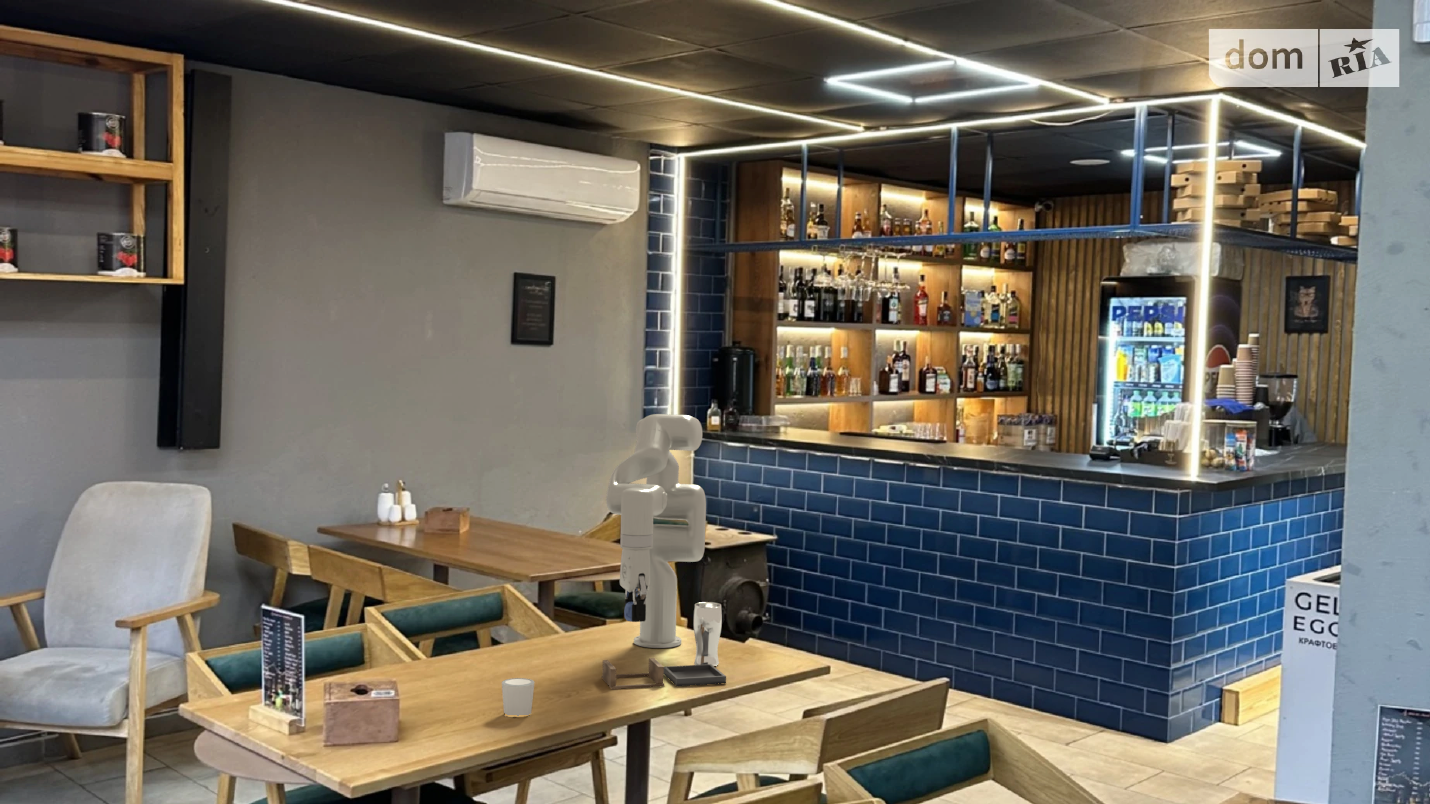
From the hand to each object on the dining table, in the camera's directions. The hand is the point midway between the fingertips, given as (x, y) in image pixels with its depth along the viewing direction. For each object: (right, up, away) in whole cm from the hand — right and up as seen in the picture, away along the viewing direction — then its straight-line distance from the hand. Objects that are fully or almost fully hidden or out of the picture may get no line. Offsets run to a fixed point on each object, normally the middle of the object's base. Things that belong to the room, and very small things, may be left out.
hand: (635, 617), depth 302 cm
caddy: (-1, -15, 0) cm, 15 cm away
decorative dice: (0, -1, 0) cm, 1 cm away
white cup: (-23, -16, -29) cm, 40 cm away
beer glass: (+17, -15, +19) cm, 29 cm away
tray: (+14, -15, +5) cm, 21 cm away
